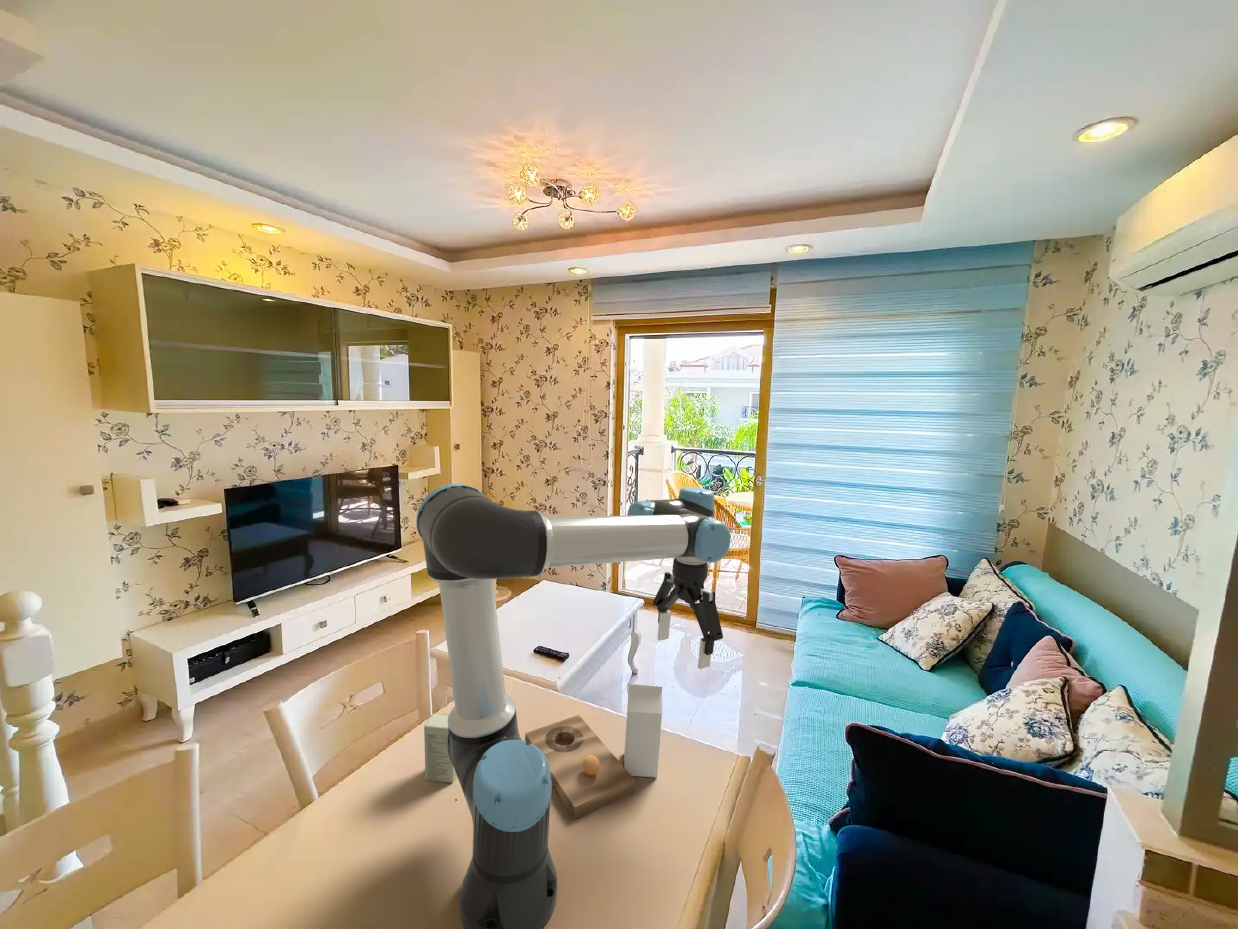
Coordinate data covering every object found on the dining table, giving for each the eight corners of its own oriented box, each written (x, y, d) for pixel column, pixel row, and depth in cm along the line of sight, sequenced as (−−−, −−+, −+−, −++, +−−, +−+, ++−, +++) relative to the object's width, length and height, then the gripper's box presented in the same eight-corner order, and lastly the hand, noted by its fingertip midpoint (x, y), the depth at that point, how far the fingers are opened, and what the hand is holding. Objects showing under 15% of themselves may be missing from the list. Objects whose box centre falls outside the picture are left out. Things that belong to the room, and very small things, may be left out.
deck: (634, 791, 103) (634, 780, 103) (574, 819, 95) (574, 807, 95) (578, 724, 123) (578, 714, 122) (524, 743, 115) (525, 733, 115)
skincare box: (462, 768, 106) (462, 715, 105) (453, 784, 102) (454, 729, 100) (433, 764, 107) (433, 712, 105) (423, 780, 103) (423, 725, 101)
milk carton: (657, 778, 107) (663, 696, 104) (623, 776, 107) (629, 694, 104) (655, 754, 114) (661, 677, 111) (624, 752, 114) (629, 675, 111)
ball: (587, 782, 101) (588, 766, 101) (578, 770, 104) (579, 755, 104) (602, 775, 103) (603, 760, 103) (593, 764, 106) (594, 749, 106)
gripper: (747, 576, 99) (736, 675, 102) (667, 542, 120) (660, 625, 123) (720, 581, 95) (709, 685, 98) (642, 545, 116) (635, 631, 118)
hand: (682, 652), depth 110 cm, fingers open, 13 cm apart
